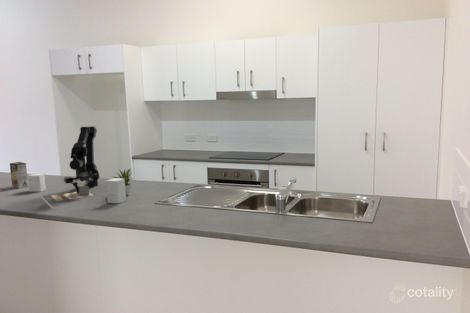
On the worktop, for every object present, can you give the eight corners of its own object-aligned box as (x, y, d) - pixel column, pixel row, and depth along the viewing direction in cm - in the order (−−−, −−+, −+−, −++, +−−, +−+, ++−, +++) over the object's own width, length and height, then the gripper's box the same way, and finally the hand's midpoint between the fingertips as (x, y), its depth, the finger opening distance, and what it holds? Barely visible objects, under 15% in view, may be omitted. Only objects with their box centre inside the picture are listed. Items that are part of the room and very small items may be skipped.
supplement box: (126, 200, 218) (125, 178, 216) (118, 203, 211) (117, 181, 209) (115, 199, 220) (114, 177, 218) (107, 202, 213) (105, 180, 211)
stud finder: (84, 191, 235) (84, 183, 235) (89, 194, 228) (88, 186, 228) (76, 193, 233) (75, 184, 232) (80, 195, 225) (79, 187, 225)
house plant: (120, 191, 240) (119, 165, 238) (141, 191, 237) (140, 165, 235) (108, 196, 226) (107, 169, 224) (130, 197, 224) (129, 169, 221)
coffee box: (11, 187, 256) (9, 163, 254) (21, 185, 262) (18, 161, 259) (19, 188, 252) (16, 164, 249) (28, 186, 257) (26, 162, 254)
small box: (46, 189, 247) (44, 173, 246) (40, 191, 242) (39, 175, 240) (34, 189, 248) (32, 173, 246) (28, 191, 242) (27, 175, 241)
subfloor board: (85, 191, 239) (85, 190, 239) (93, 196, 227) (93, 195, 226) (50, 197, 228) (50, 195, 227) (57, 202, 215) (57, 200, 215)
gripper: (67, 170, 216) (69, 197, 218) (100, 166, 227) (102, 192, 229) (62, 167, 225) (64, 194, 227) (95, 164, 236) (96, 189, 238)
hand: (82, 192), depth 230 cm, fingers closed on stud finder, 5 cm apart
